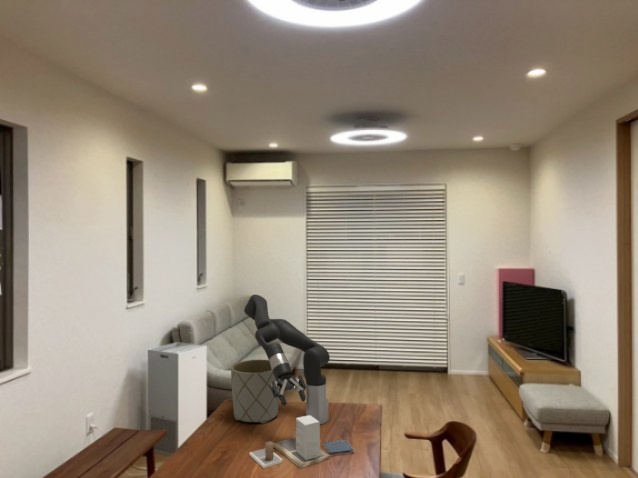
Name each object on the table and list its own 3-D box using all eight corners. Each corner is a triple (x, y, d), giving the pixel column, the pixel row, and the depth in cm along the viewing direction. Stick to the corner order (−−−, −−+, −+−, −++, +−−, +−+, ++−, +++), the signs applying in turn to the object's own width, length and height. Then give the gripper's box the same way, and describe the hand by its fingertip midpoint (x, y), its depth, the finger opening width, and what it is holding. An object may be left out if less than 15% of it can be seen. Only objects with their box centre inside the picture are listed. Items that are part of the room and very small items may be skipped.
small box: (320, 456, 172) (320, 421, 172) (305, 460, 169) (305, 425, 169) (310, 447, 179) (310, 414, 179) (295, 451, 176) (295, 417, 176)
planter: (222, 423, 207) (221, 371, 207) (244, 405, 229) (244, 358, 229) (269, 428, 201) (268, 374, 201) (287, 409, 223) (287, 361, 222)
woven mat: (346, 443, 187) (346, 438, 187) (355, 454, 177) (355, 449, 177) (322, 446, 184) (321, 441, 184) (328, 458, 174) (328, 453, 174)
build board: (301, 438, 191) (301, 435, 191) (329, 458, 173) (329, 454, 173) (273, 446, 183) (273, 443, 183) (300, 468, 166) (300, 464, 166)
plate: (268, 449, 181) (267, 431, 180) (282, 462, 170) (282, 443, 170) (249, 455, 176) (249, 436, 176) (263, 468, 166) (263, 448, 166)
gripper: (268, 364, 185) (282, 401, 176) (298, 359, 193) (313, 394, 184) (262, 374, 189) (275, 411, 180) (292, 369, 197) (306, 403, 188)
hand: (294, 402), depth 182 cm, fingers open, 8 cm apart
